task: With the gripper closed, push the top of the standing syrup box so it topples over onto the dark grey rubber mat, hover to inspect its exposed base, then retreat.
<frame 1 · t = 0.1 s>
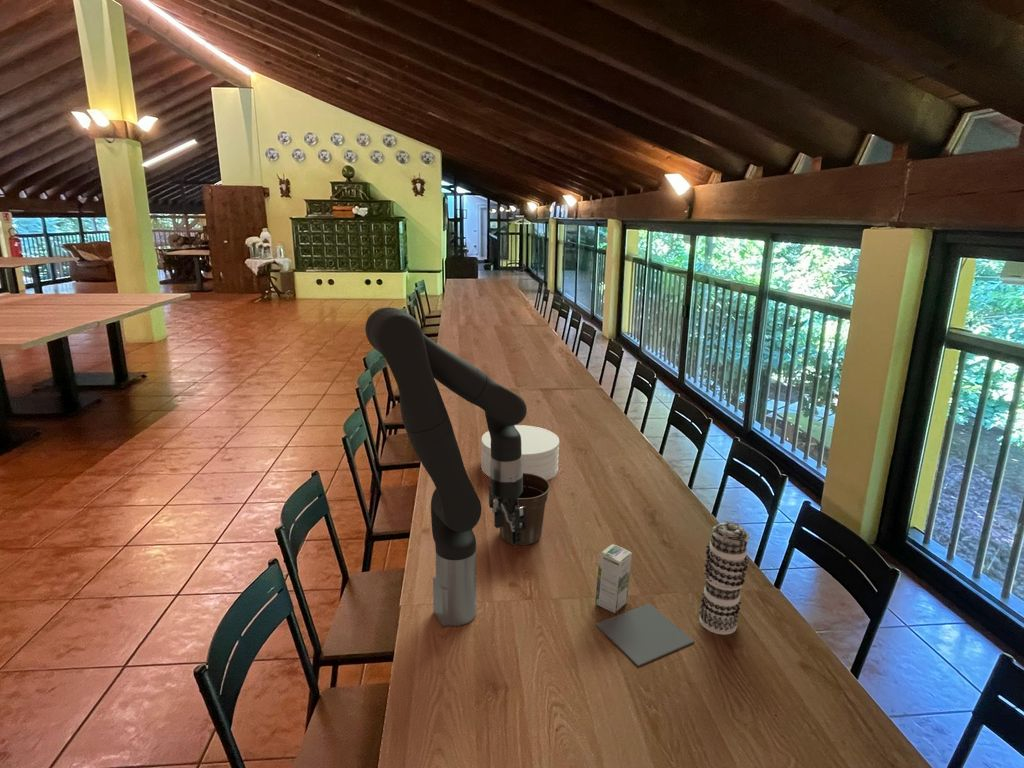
hand: (507, 535, 147), 17 cm above the table, tool pointing down, fingers open, 8 cm apart
decorative candle: (717, 623, 144), on the table
mat: (644, 633, 140), on the table
syrup box: (611, 604, 150), on the table
plant pot: (520, 535, 180), on the table
plate stack: (519, 468, 225), on the table
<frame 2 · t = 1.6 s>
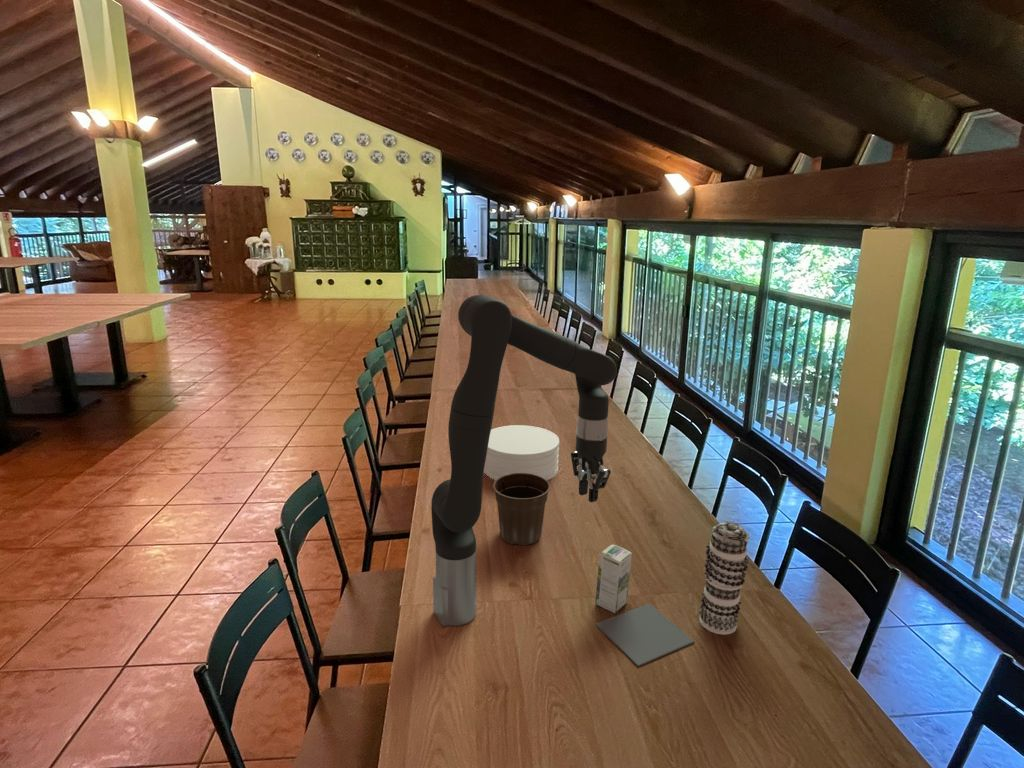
hand: (587, 497, 153), 23 cm above the table, tool pointing down, fingers open, 3 cm apart
nothing on the table moved.
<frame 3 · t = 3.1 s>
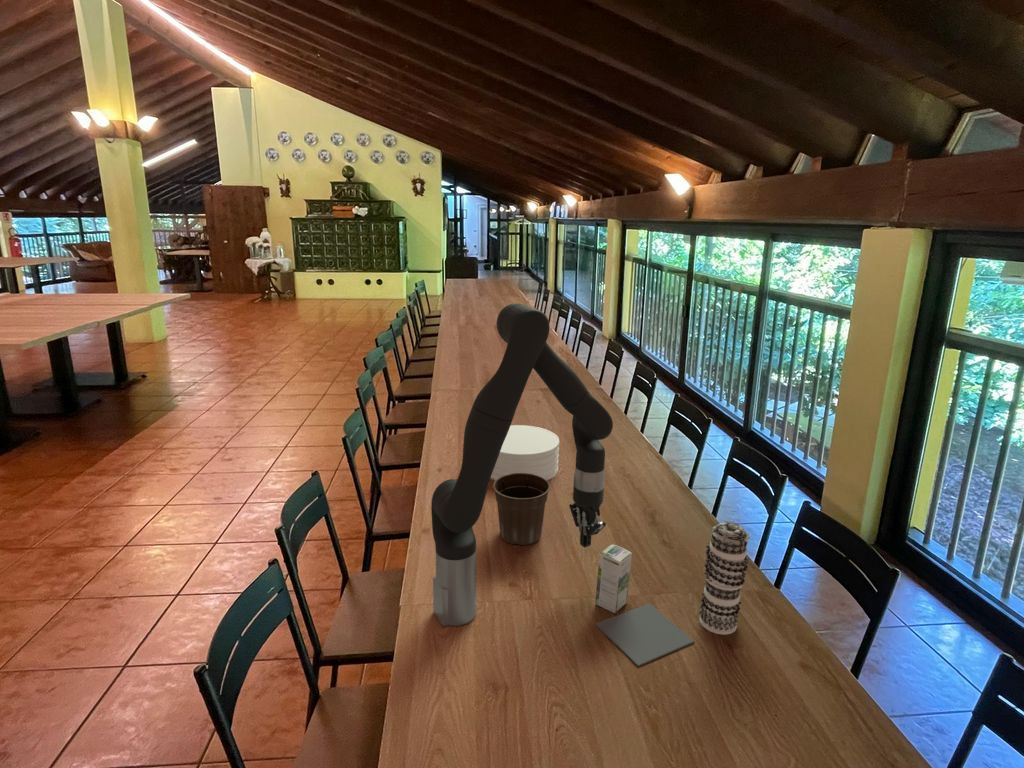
hand: (585, 545, 157), 10 cm above the table, tool pointing down, fingers closed
nothing on the table moved.
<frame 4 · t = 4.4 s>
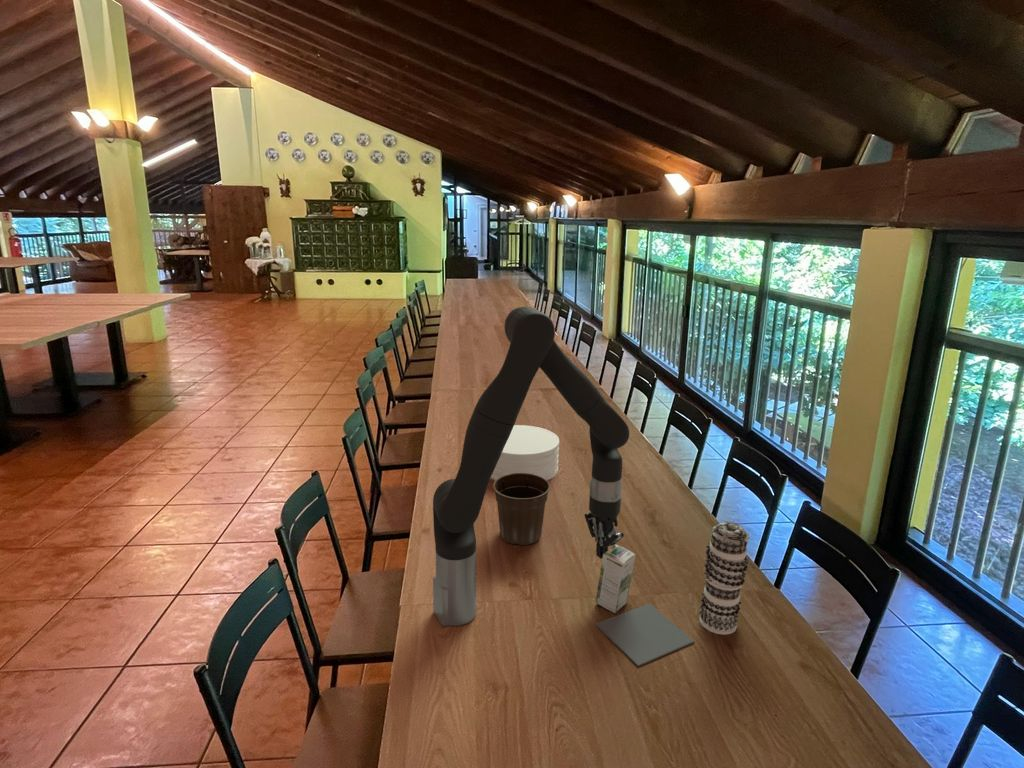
hand: (601, 556, 152), 10 cm above the table, tool pointing down, fingers closed
syrup box: (611, 604, 150), on the table, touching hand
everything else where it was.
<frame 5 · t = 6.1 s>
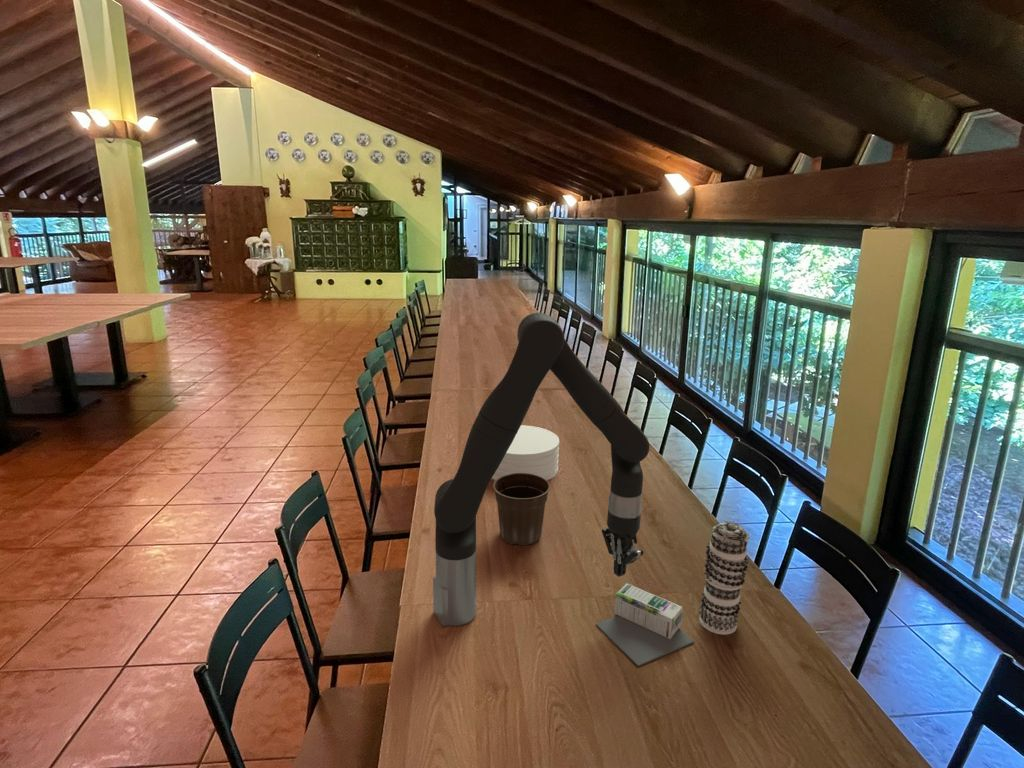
hand: (619, 574, 146), 10 cm above the table, tool pointing down, fingers closed
syrup box: (619, 598, 147), point 3 cm above the table, touching mat
everything else where it was.
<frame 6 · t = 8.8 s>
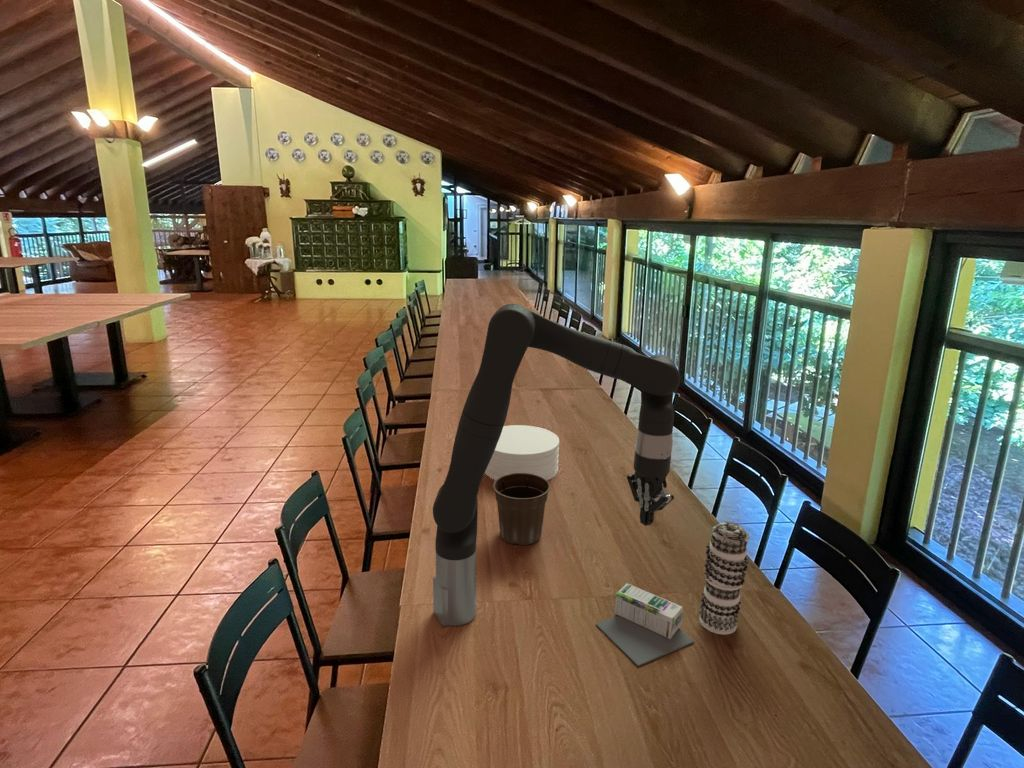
hand: (646, 523, 134), 27 cm above the table, tool pointing down, fingers closed
nothing on the table moved.
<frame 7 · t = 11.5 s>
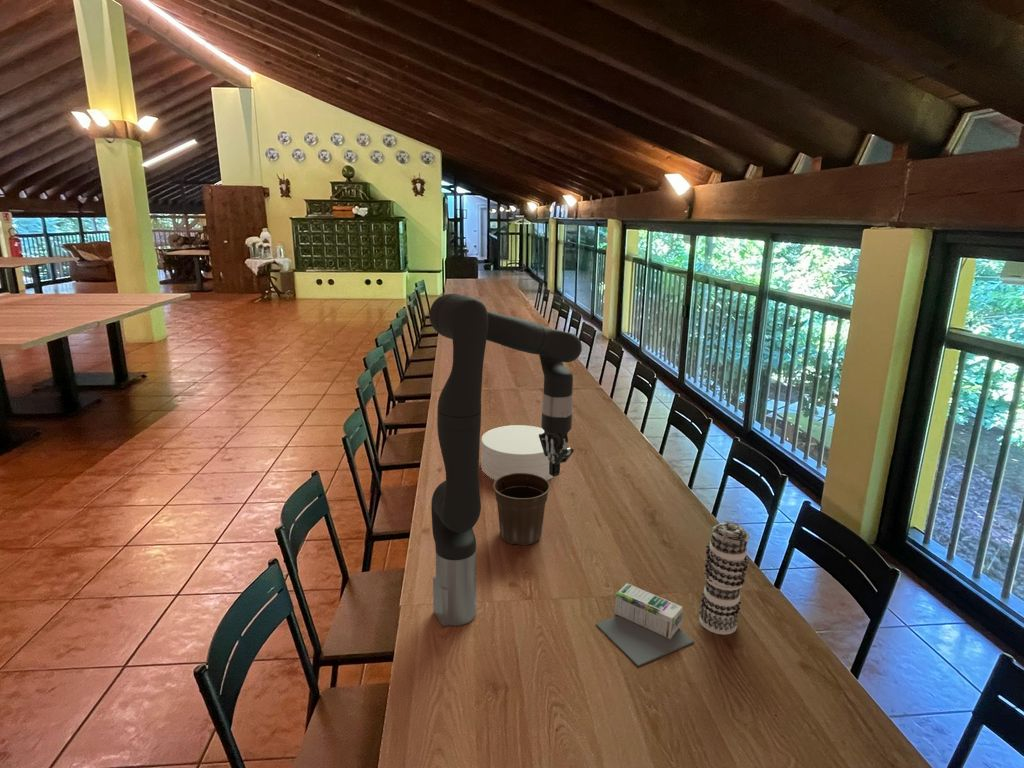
hand: (554, 474, 157), 27 cm above the table, tool pointing down, fingers closed
nothing on the table moved.
at the end: syrup box tilted 89°; syrup box touching mat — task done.
